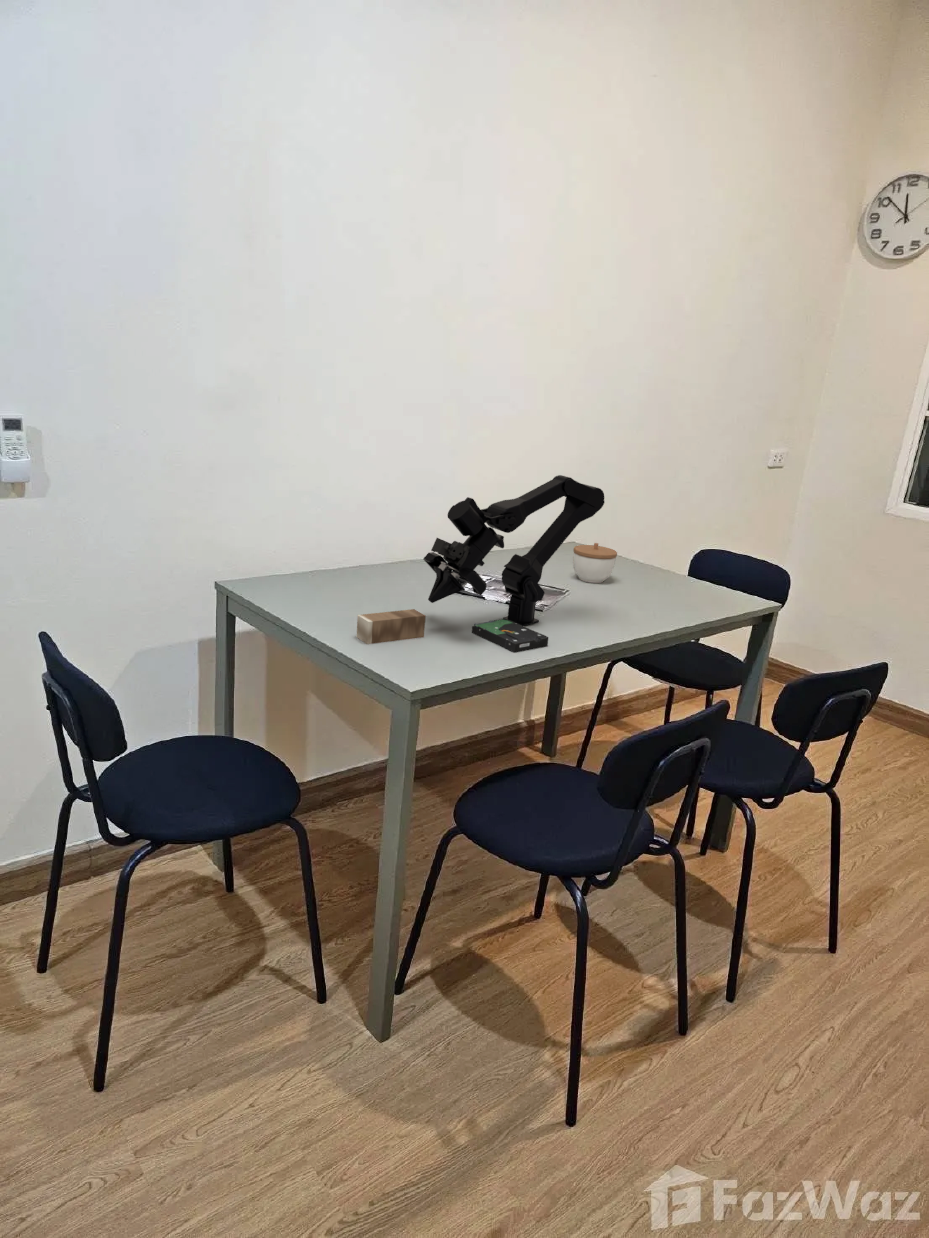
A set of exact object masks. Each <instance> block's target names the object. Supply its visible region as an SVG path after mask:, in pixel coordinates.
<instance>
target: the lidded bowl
mask: <svg viewBox="0 0 929 1238" xmlns="http://www.w3.org/2000/svg"><path fill="white" fill-rule="evenodd" d="M617 555H618V551H617V550H615V549H612V548H611V547H606V546H601V545H599V543H598V542H594V543H593V545H591V544H581V545H580V544H579V545H575V546H574V547H573V556H572V564H573V565H572V566H573V569H574V572H575V575H577V577H578V578H579V580H580V581H583V582H585V583H591V584H602V583H604V582H603V581H605V580H607V579H608V578H609V577H610V576H611V575H612V574H613V571H614V568H615V566H616V560H617Z"/></svg>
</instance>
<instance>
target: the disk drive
mask: <svg viewBox="0 0 929 1238" xmlns="http://www.w3.org/2000/svg"><path fill="white" fill-rule="evenodd" d="M471 634H473V635H475V636H477V637H479V638H482V639H484V640H486V641H488V642H490V643H493V644H494V645H496V646H498V647H501V648H503V649H505V650H507V651H509V652H511V653H514V654H515V653H520V652H525V651H531V650H535V649H541V648H545V647H548V644H549V636H547V635H545V634H542V633H540V632H537V631H535V630H534V629H532V628H528V627H526V626H522V625H520V624H517V623H515V622H513V621H510V620H508V619H503V618H501V619H495V620H494V619H493V620H489V621H486V622H481V623H475V622H474V623H473V626H471Z"/></svg>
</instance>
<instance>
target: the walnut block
mask: <svg viewBox="0 0 929 1238" xmlns="http://www.w3.org/2000/svg"><path fill="white" fill-rule="evenodd" d="M426 617H427V616H426V615H425V614H424V613H422V612H420V611H418V610H417V609H415V608H412V609H403V610H393V611H383V612H374V613H372V612H371V613H363V614H357V619H356V620H357V622H356V624H357V625H356V638H358V639H359V640H360V641H362V642H363V643H365V644H366V645H371V644H372V645H373V644H380V643H387V642H388V643H389V642H396V641H404V640H413V639H421V638H424V637H425V628H426Z"/></svg>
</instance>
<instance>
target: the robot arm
mask: <svg viewBox="0 0 929 1238" xmlns="http://www.w3.org/2000/svg"><path fill="white" fill-rule="evenodd" d="M563 497H565V500H564V506H563V510H562V511H561V513H560V514H559V515H558V516H557V517H556V519H554V520H553V522H552V523H551V525H549V527H548V528H547V529H546V530H545V532H544V533H543V534H542V535H541V536H540V538H539V539H538V540H537V541H536V542H535V543H534V545H533V546H532V547H531V548H530V549H529V550H528V552H527V553H526V554H523V555H520V554H517V553H515V554H514V555H513V556H512V557H511V558H510V560H509V561H508V562H507V563H506V564H504V566H503V567H504V569H503V570H502V573H501V582H502V585H503V586H504V590H505V593H506V594H509V595H511V596H510V597H509V603H508V610H507V616H503V617H502V619H508V620H510V621H513V622H515V623H517V624H520V625H522V626H524V627H526V626H530V625H533V624H535V623H536V624H537V623H539V621H540V619H538V618H535V614H536V606H537V603H538V602H540V601H542V600H543V598H544V596H545V590H544V589H543V588H542V587H541V585H540V584H539V582H540V581H541V579H542V575H543V574H542V573H543V569H544V566H545V565H546V564H547V563H548V561H550V559H551V558H552V557H553V555H554V554H555V553H556V552H557V551H558V550H559V548H560V547H561V546H562V545H563V543H564V542H565V541H566V539H567V538H568V537H569V536H570V535H571V533H572V532H573V531H574V530H575V529H576V527H577V526H578V525H579V524H580V523H582V522H584V521H585V520H587V519H590V518H592V517H594V516H595V515H596V513H598V512H599V511H600V510H601V509H602V508H603V507H604V504H605V493H604V491H603V490H602V489H601V488H600V487H596V486H593V485H588V484H584V483H581V482H579V481H577V480H575V479H573V478H572V477H570V476H565V475H561V474H558V475H556V476H554V477H553V478H552V479H550V480H549V481H547V482H545V483H543V484H541V485H539V486H538V487H536V488H533V489H532V490H529V491H528V492H526V493H524V494H521V495H520V496H518V497H515V498H511V499H503V500H500V501H497V502H493V503H491V504H490V505H489V506H488V507H486V508H483V509H481V508H480V507H479V505H478V504H477V502H476V501H475V499H474V498H472V497H469V496H468V497H466V498H465V499H464V500H461V501H459V502H457V503H456V504H454V505H452V506H451V507H450V508H449V510H448V512H447V518H448V520H449V521H450V522H451V523H452V524H453V526H454V527H455V528H456V530H458V531H459V533H460V534H461V535H462V536H464V537H467V538H466V540H465V541H464V542H459V541H457V540H454V541H453V542H448V541H445V540H444V539H441V538H439V537H436V539H435V541H434V543H433V545H432V548H431V552H428V553H427V554H426V555H425V556H424V557H423V561H424V562H425V563H426V564H427V565H428V567H430V569H431V571H433V572H434V573H435V574H436V578H435V582H434V584H433V586H432V588H431V591H430V593H429V596H428V599H427V600H428V601H429V603H431V604H434V603H435V602H438V601H440V600H442V599H444V598H447V597H449V596H452V595H455V594H457V593H459V592H465V591H466V588H465V586H467V584H469V585H470V586H471V587H472V592H473V593H474V594H476V595H479V596H482V595H483V594H484V592H485V591H486V590H487V582H485V580H484V579H483V578H482V577H481V575H480V574H479V573H478V572H477V571H476V570H475V569H476V568H477V567H478V566H479V567H483V566H484V565H485V562H484V559H485V558H486V556H488V554H490V552H491V551H492V549H493V548H494V547H498V548H500V549H504V548H505V540H504V538H505V536H504V535H501V534H498V533H497V532H496V531H495V530H497V531H501V532H503V533H507V534H510V533H512V532H514V531H515V530H517V529H518V528H519V527H520V526H521V525H523V524H524V522H525V521H526V519H527V517H528V516H530V515H532V514H534V513H535V512H537V511H539V510H541V509H542V508H545V507H547V506H548V505H550V504H551V503H553V502H555V501H557V500H559V499H561V498H563ZM487 525H488V526H487ZM494 529H495V530H494Z"/></svg>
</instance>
